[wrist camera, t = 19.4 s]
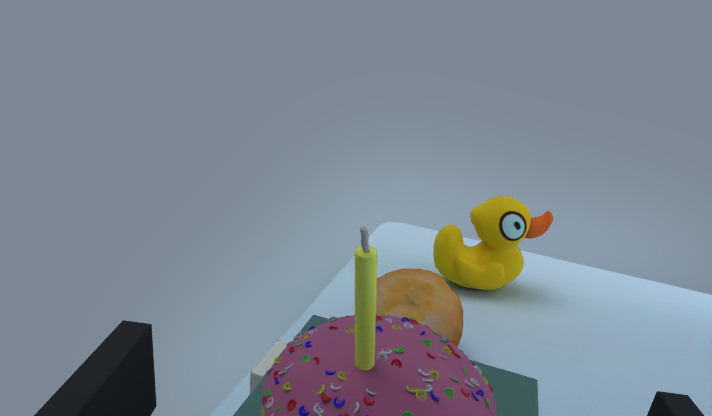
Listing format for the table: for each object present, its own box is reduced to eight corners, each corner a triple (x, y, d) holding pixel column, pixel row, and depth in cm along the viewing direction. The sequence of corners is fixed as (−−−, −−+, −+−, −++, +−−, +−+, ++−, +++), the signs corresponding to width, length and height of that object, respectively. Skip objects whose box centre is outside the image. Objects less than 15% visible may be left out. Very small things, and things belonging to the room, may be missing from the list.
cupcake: (387, 687, 13) (465, 327, 9) (208, 493, 18) (204, 199, 14) (507, 487, 20) (587, 221, 15) (351, 382, 24) (379, 159, 20)
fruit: (462, 312, 42) (475, 264, 36) (447, 401, 37) (459, 363, 31) (374, 292, 44) (372, 242, 38) (349, 374, 39) (342, 333, 33)
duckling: (523, 277, 53) (545, 193, 50) (542, 303, 48) (568, 212, 45) (423, 269, 52) (438, 183, 49) (432, 295, 47) (450, 202, 44)
